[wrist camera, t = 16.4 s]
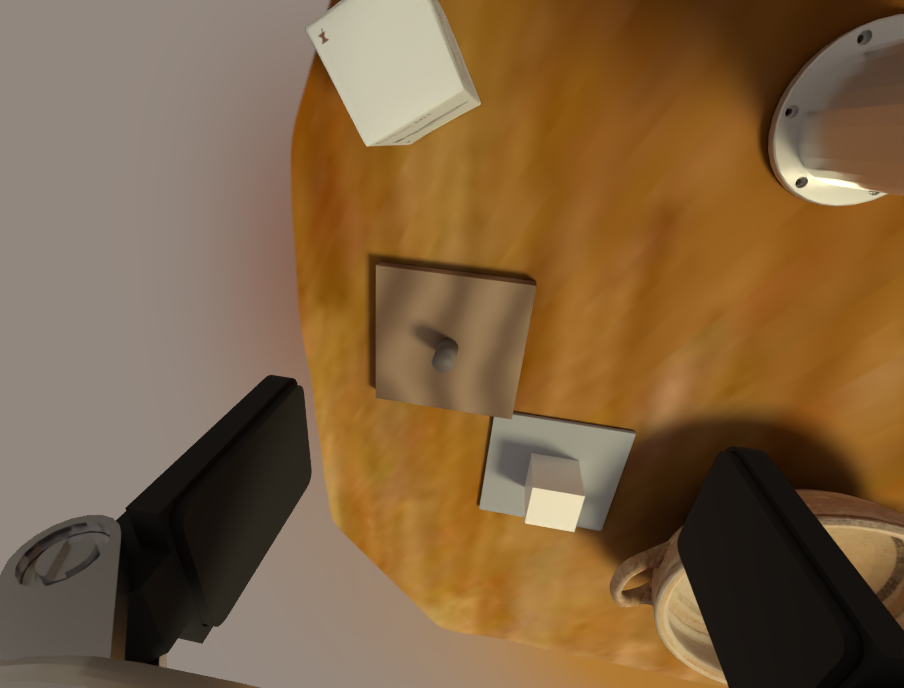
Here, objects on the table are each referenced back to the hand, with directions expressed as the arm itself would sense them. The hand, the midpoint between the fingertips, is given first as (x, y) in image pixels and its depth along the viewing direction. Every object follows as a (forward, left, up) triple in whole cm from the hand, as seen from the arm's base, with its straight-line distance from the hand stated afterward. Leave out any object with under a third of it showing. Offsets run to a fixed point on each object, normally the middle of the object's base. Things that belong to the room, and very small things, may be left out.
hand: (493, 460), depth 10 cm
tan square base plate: (+5, +14, -33) cm, 36 cm away
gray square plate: (-9, +30, -33) cm, 46 cm away
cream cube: (-9, +30, -33) cm, 45 cm away
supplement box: (+9, -10, -34) cm, 36 cm away
